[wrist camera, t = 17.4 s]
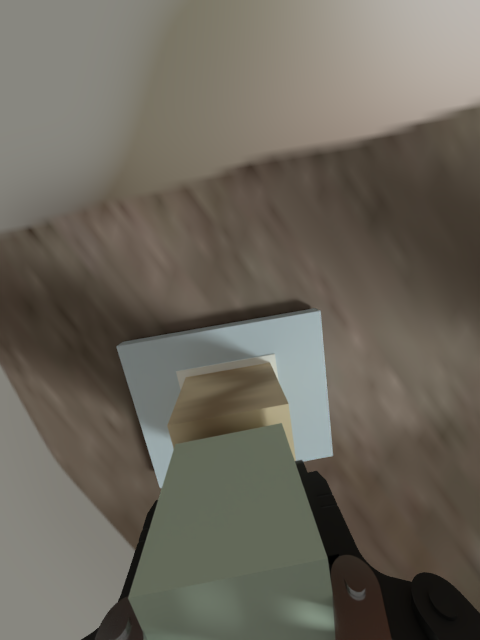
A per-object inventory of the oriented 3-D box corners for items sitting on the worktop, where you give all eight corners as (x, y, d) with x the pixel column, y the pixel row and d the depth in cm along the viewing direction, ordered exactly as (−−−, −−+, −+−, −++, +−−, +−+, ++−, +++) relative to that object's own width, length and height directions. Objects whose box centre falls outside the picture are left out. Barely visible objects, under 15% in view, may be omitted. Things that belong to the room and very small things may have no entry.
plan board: (314, 308, 16) (321, 311, 15) (327, 446, 19) (333, 456, 18) (122, 341, 16) (115, 346, 15) (163, 476, 19) (159, 489, 18)
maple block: (269, 362, 16) (288, 403, 11) (280, 434, 17) (301, 499, 12) (185, 377, 16) (167, 425, 11) (202, 448, 17) (193, 519, 12)
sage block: (281, 422, 10) (327, 558, 6) (296, 506, 12) (344, 679, 7) (175, 444, 10) (128, 597, 6) (200, 525, 12) (178, 712, 7)
